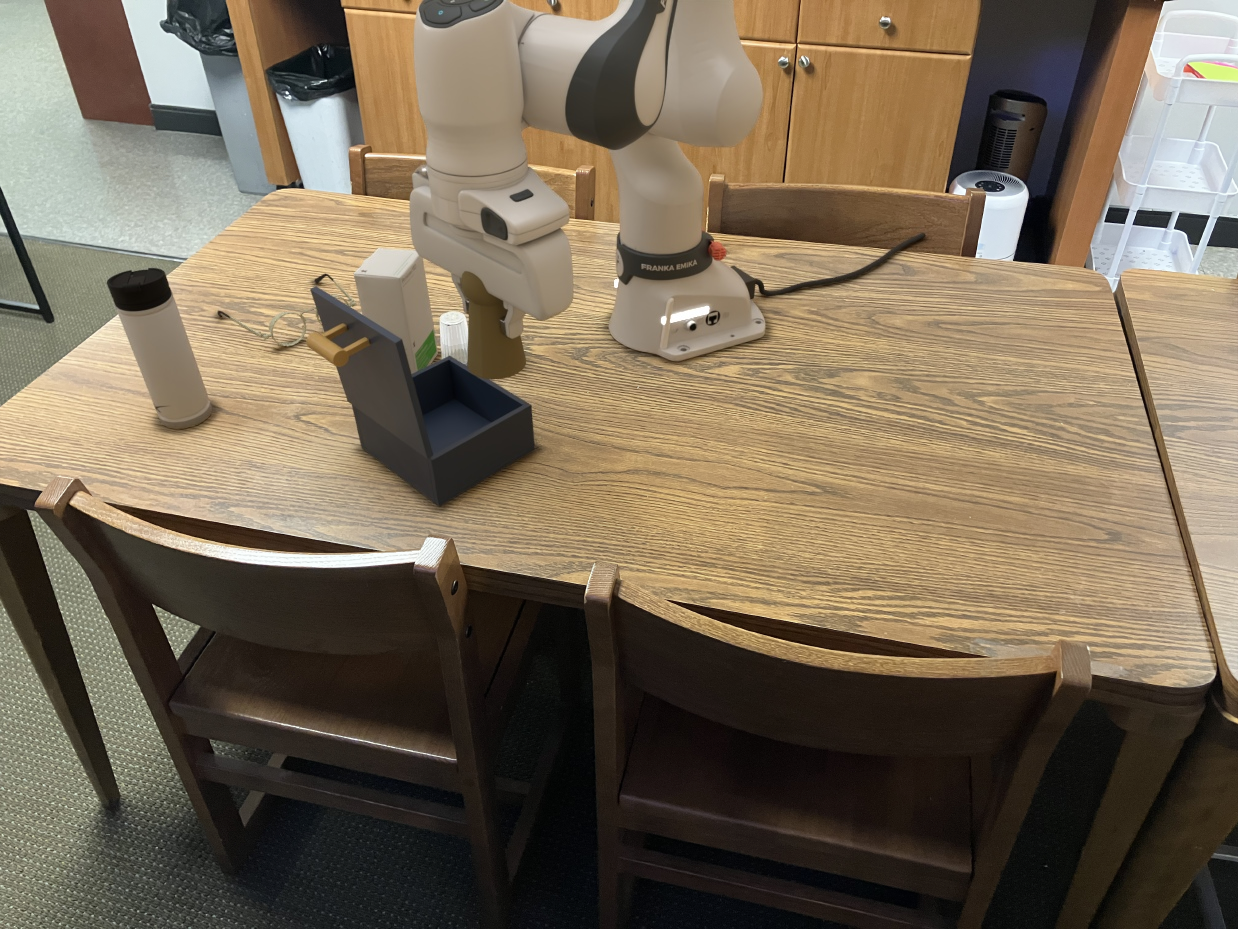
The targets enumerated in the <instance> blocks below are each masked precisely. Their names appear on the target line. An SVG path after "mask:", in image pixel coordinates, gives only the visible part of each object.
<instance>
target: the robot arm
mask: <svg viewBox="0 0 1238 929" xmlns="http://www.w3.org/2000/svg"><path fill="white" fill-rule="evenodd" d="M734 3H735V2H734V0H618V3H617V7H616V9H615V10H614V11H613V12H612V13H611V14H610V15H608V16H605V17H604V18H602V19H598V20H589V19H583V18H575V17H569V16H562V15H556V14H553V13H550V12H545V11H537V10H533V9H529V8H525V7H522V6H521V5H518V4H516V3H513V2H512V1H510V0H422V1H421V2H420V3H419V4H418V7H417V9H416V12H415V13H416V14H415V18H414V26H413V67H414V79H415V88H416V96H417V102H418V104H417V105H418V110H419V113H420V116H421V118H422V121H423V123H424V127H425V129H426V134H427V143H426V148H425V162H426V164H425V163H424V164H423V163H422V164H419V166H418V167H416V169H414V172H413V173H412V174H411V181H412V187H413V189H412V190H411V192H410V195H409V206H408V207H409V225H410V226H409V227H410V236H411V241H412V242H411V243H412V246H413V248H414V250H416V252H417V253H418V255H419V256H421V257H422V258H423V260H426V261H428V262H429V263H431V264H433V265H435V266H437V267H439V268H441V269H443V270H444V271H447V272H449V273H450V275H451V276H450V277H451V281H452V283H453V285H454V288H456V291H457V292H458V295H459V297H460V298H461V303H462V311H463V312H464V313H465V314H467V315H469V299H468V298H467V297H466V295H465V294H464V292H463V289H462V285H461V278H462V274H463V272H464V271H468V272H471V273H473V274H475V275H476V276H478V277H479V278H480V279H481V281H482V282H483V284H484V286H485V288H486V290H487V292H488V293H489V294H491V295H493V296H495V297H497V298H499V299H501V300H502V301H503V303H504V308H505V309H508V312H507V315H506V316H504V317H502V318H500V319H499V325H500V327H501V328H500V332H501V333H502V334H504V335H506V336H507V337H509V338H511V339H513V338H515V337H518V336H520V335H522V334H523V333H524V318H525V316H526V314H527V315H529V316H531V317H532V318H534V319H536V320H538V321H540V322H545V321H547V320H550V319H552V318H554V317H556V316H558V315H560V314H562V313H564V312H566V310H568V308H570V306H571V305H572V303H573V301H574V294H575V292H574V266H573V254H572V248H571V244H570V240H569V237H568V236H567V234H566V232H565V230H564V229H563V227H565V226H566V225H568V224H569V223H570V220H571V219H570V217H571V216H570V215H571V214H570V212H571V211H570V207H569V204H568V203H567V202H566V200H565V199H563V198H562V197H561V195H559V194H558V193H557V192H556V191H554V190H553V189H552V188H551V187H550V186H549V185H548V184H547V183H545V181H544V180H543V179H542V178H541V177H540V176H539V175H538V173H537V172H536V171H535V169H533V168H532V167H531V166H529V161H528V149H527V146H526V143H525V140H524V137H523V134H522V132H523V131H524V130H525V129H528V128H529V127H531V128H532V129H536V130H541V131H545V132H550V133H553V134H559V135H563V136H569V137H574V138H576V139H578V140H581V141H584V142H587V143H590V144H592V145H595V146H597V147H598V146H599V147H601V148H604V149H607V150H608V153H609V156H610V159H611V163H612V165H613V169H614V173H615V176H616V182H617V193H618V209H619V210H618V214H619V232H618V233H617V234H616V235H617V236H616V248H615V271H616V275H617V279H615V280H614V288H616V291H615V292H616V294H615V299H614V305H613V308H612V313H611V316H610V319H609V322H608V332H609V333H610V335H611V337H612V338H613V339H614V340H615V341H617V342H618V343H619V344H621V345H622V346H624V347H627V348H629V349H632V350H634V351H638V352H643V353H647V354H654V355H657V356H660V357H662V358H664V359H665V360H668V361H672V362H681V361H685V360H688V359H692V358H695V357H699V356H703V355H705V354H711V353H712V352H716V351H720V350H723V349H727V348H730V347H734V346H737V345H741V344H744V343H747V342H751V341H756V340H759V339H761V338H763V337H764V336H765V334H766V319H765V316H764V314H763V313H762V311H761V309H760V308H759V307H758V305H756V303H755V302H754V301H753V300H754V299H755V294H756V293H755V292H756V286H758V287H757V288H758V291H759V294H760V295H762V296H764V297H774V296H780V295H786V294H790V293H792V292H795V291H798V290H802V289H806V288H810V287H817V286H824V285H831V284H836V283H841V282H844V281H847V280H850V279H853V278H856V277H859V276H862V275H863V274H866V273H868V272H869V271H871V270H873V269H875V268H877V267H878V266H880V265H881V264H883V263H884V262H886V261H887V260H888V259H889V258H891V257H892V256H893V255H895V254H897V253H898V252H900V251H901V250H903V249H904V248H906V247H908V246H910V245H912V244H914V243H917V242H918V241H921V240H922V239H924V238H926V233H925V232H921V233H919V234H916V235H915V236H912V237H911V238H908V239H907V240H905V241H903V242H901V243H899V244H898V245H895V246H894V247H893V248H891V249H890V250H888V251H887V252H886V253H885V254H884V255H882V256H881V257H879V258H878V259H876V260H874V261H873V262H871V263H869V264H867V265H865V266H863V267H861V268H859V269H857V270H854V271H852V272H848V273H846V274H841V275H838V276H833V277H828V278H821V279H814V280H809V281H803V282H799V283H795V284H793V285H790V286H787V287H785V288H782V289H778V290H768V289H765V283H764V282H763V281H762V280H761V279H759V278H755V277H752V275H750V274H749V273H747V272H745V271H743V270H742V269H740V268H739V267H737V266H736V265H731V266H729V265H728V264H727V263H725V262H723V261H722V260H724V259H725V257H727V253H728V252H727V249H726V248H725V247H724V245H723V244H722V243H721V242H719V241H715V238H714V237H713V236H712V234H710V233H709V232H707V231H706V230H704V229H703V219H704V218H703V216H704V202H705V199H704V198H705V186H704V185H705V184H704V181H703V178H702V175H701V174H700V172H699V170H698V168H696V167H695V165H694V164H693V162H692V161H691V160H690V159H688V157H687V156H686V155H685V153H684V151H683V150H682V148H681V146H680V144H679V143H682V144H685V145H689V146H693V147H697V148H716V149H717V148H719V149H720V148H727V149H728V148H730V149H731V148H733V147H734V148H735V147H736V146H738V145H740V144H741V143H742V142H744V141H745V140H746V139H747V138H748V137H749V136H750V134H751V133H752V132H753V130H754V129H755V127H756V126H757V124H758V122H759V119H760V117H761V114H762V110H763V104H764V89H763V83H762V80H761V76H760V74H759V72H758V70H757V68H756V67H755V66H754V64H753V63H752V61H751V60H750V58H749V57H748V55H747V53H746V51H745V50H744V47H743V44H742V42H741V39H740V36H739V31H738V27H737V22H736V16H735V7H734V6H735V5H734Z"/></svg>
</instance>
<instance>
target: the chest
mask: <svg viewBox="0 0 1238 929" xmlns="http://www.w3.org/2000/svg"><path fill="white" fill-rule="evenodd" d="M412 378H413V381H414V385H415V389H416V392H417V396H418V400H419V404H420V407H421V411H422V415H423V418H424V422H425V426H426V430H427V433H428V437H429V441H430V444H431V448H432V452H433V456H432V457H430V458H429V459H427V458H426V457H424V456H423V455H421V454H420V453H419V452H417V451H416V450H414V449H413V448H412V447H410V446H409V445H408V444H406V443H405V442H403V441H402V440H401V439H399V438H398V437H396V436H395V435H394V434H392V433H391V432H389V431H388V430H387V429H385V428H384V427H382V426H381V425H380V424H378V423H377V422H376V421H374V420H373V419H371V418H370V417H369V416H367V415H366V414H364V413H363V412H362V411H360V410H359V409H357V408H356V407H355V406H353V405H352V404H351V408H352V412H353V416H354V421H355V425H356V429H357V434H358V438H359V443H360V447H361V449H362V450H363V451H365V452H366V453H367V454H368V455H370V456H371V457H373V459H375V460H377V461H378V462H379V463H380V464H382V465H383V466H384V467H386V468H387V469H388V470H390V471H391V472H392V473H393V474H395V475H396V476H397V477H399V478H400V479H402V480H403V481H404V482H406V483H407V484H408V485H410V486H411V487H412V488H413V489H414V490H416V491H417V492H419V493H420V494H421V495H422V496H424V497H425V498H427V499H428V500H429V501H431V502H432V503H433V504H435V505H436V506H437V507H438V508H440V507H442V506H443V505H445V504H447V503H449V502H450V501H453V499H455V498H457V497H459V496H460V495H462V494H463V493H465V492H467V491H468V490H470V489H473V487H476V486H477V485H478V484H480V483H482V482H483V481H485V480H487V479H489V478H490V477H492V476H494V475H495V474H497V473H499V472H500V471H502V470H504V469H506V468H507V467H509V466H510V465H512V464H514V463H515V462H517V461H519V460H521V459H522V458H523V457H526V456H527V455H530V454H531V453H532V452H534V451H536V446H535V432H534V431H535V430H534V421H533V418H534V417H533V410H532V409H533V408H532V406H533V405H532V404H530V402H527V401H525V400H524V399H523V398H521V397H520V396H517V394H514V393H512V392H511V391H509V390H508V389H506V388H504V387H502V386H501V385H499V384H498V383H496V382H495V381H492V379H484V378H480V377H477V376H475V375H473V374H472V373H471V372H470V371H469V369H468V368H467V364H465V363H463V362H462V361H460V360H458V359H456V358H455V357H453V356H451V355H448V356H445V357H444V358H442V359H439V360H438V361H435V362H432V363H431V365H429V366H427V367H425V368H423V369H421V370H419V371H417V372H415V373H413V374H412Z"/></svg>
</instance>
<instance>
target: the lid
mask: <svg viewBox="0 0 1238 929" xmlns="http://www.w3.org/2000/svg"><path fill="white" fill-rule="evenodd" d="M309 290H310V294H311V296H312V299H313V302H314V305H315V307H316V308H317V311H318V314H319V320H321V321H320V322H321V324H322V325H321V327H322V330H323V333H320V332H317V331H314V332H311V333H309V335H308V336H307V338H306V341H305V342H306V347H308V349H310V350H312V351H313V352H315V353H316V354H317V355H319V356H320V357H321V358H323V359H325V360H326V361H328V362H329V363H330V364H332V365H334V366H335V367H336V371H337V375H338V377H339V379H340V382H341V386H342V389H343V391H344V394H345V397H346V401H347V402H348V403H349V404H350V405H351V406H352V405H353V406H355V407H356V408H357V409H359V410H360V411H362V412H363V413H364V414H366V415H367V416H369V417H370V418H371V419H373V420H374V421H376V422H377V423H378V424H380V425H381V426H382V427H384V428H385V429H387V430H388V431H389V432H391V433H392V434H394V435H395V436H396V437H398V438H399V439H401V440H402V441H403V442H405V443H406V444H408V445H409V446H410V447H412V448H413V449H414V450H416V451H417V452H419V453H420V454H421V455H423V456H424V457H426V458H427V459H429V458H430V457H432V456H433V452H432V448H431V444H430V441H429V437H428V433H427V430H426V426H425V422H424V418H423V415H422V411H421V407H420V404H419V400H418V396H417V392H416V389H415V385H414V381H413V378H412V374H411V370H410V367H409V363H408V359H407V355H406V352H405V348H404V344H403V341H402V339H401V338H399V337H398V336H396V335H395V334H393V333H391V332H390V331H388V330H386V329H385V328H383V327H382V326H380V325H378V324H377V323H375V322H373V321H372V320H370V319H369V318H367V317H365V316H364V315H362V312H359V311H357V310H356V309H354V308H353V307H352V306H351V307H349V306H348V305H347V303H345V302H344V301H341V300H340V299H339V298H337V297H333V296H331V295H332V294H330V293H328V292H327V291H325V290H323V289H322V288H320V287H319V286H317V285H316V286H313V287H312V288H310V289H309Z"/></svg>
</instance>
